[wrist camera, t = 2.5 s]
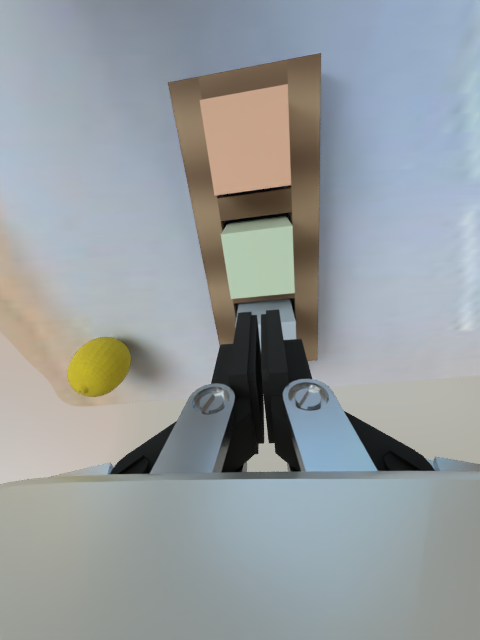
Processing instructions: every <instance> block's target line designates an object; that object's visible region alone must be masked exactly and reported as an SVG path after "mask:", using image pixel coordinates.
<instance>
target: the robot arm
mask: <svg viewBox="0 0 480 640" xmlns="http://www.w3.org/2000/svg"><path fill="white" fill-rule="evenodd" d="M263 394H264V403H265V411H266V421H267V430H268V439H269V443H275V452H276V454H278V455H279V456H280V457H281V458H282V459H283V460H285V461H286V462H287V465H288V472H247V461H248V460H249V459H250V458H251V457H252V456H253V455H254V454H258V444H259V443H264V406H263ZM0 640H480V464H475V463H469V462H463V461H458V460H452V459H445V458H440V457H435V459H434V461H431V460H426V459H425V458H424V457H423V456H422V455H421V454H419V453H418V452H416V451H415V450H413V449H411V448H410V447H408V446H406V445H404V444H403V443H401V442H398V441H397V440H395V439H394V438H392V437H390V436H388V435H386V434H385V433H383V432H381V431H379V430H377V429H376V428H374V427H372V426H370V425H368V424H367V423H365V422H363V421H361V420H359V419H358V418H356V417H354V416H352V415H350V414H349V413H347V412H345V411H344V410H343V409H342V407H341V405H340V404H339V402H338V400H337V398H336V396H335V395H334V393H333V391H332V390H331V389H330V388H329V386H327V385H326V384H324V383H323V382H320V381H317V380H313V379H312V377H311V373H310V369H309V365H308V361H307V358H306V354H305V350H304V346H303V342H302V339H291V340H284V339H283V333H282V326H281V319H280V312H279V309H277V310H266V314H261V349H260V339H259V330H258V320H257V315H252V312H241V313H238V316H237V323H236V329H235V335H234V341H233V344H221V345H220V348H219V353H218V357H217V361H216V365H215V369H214V374H213V378H212V382H211V384H208V385H205V386H202V387H200V388H198V389H197V390H196V391H195V392H193V393H192V395H191V396H190V397H189V399H188V401H187V403H186V405H185V407H184V409H183V410H182V412H181V415H180V416H179V418H178V420H177V421H176V422H175V423H173V424H172V425H170V426H169V427H167V428H166V429H164V430H163V431H161V432H160V433H159V434H157V435H155V436H154V437H153V438H151V439H150V440H148V441H147V442H145V443H144V444H142V445H141V446H140V447H138V448H136V449H135V450H134V451H132V452H130V453H129V454H127V455H126V456H125V457H124V458H123V459H121V460H120V461H119V462H118V463H117V464H116V465H115V466H112V464H111V463H106V464H102V465H98V466H93V467H89V468H86V469H81V470H77V471H73V472H68V473H64V474H60V475H56V476H51V477H47V478H35V479H27V480H21V481H15V482H8V483H4V484H0Z"/></svg>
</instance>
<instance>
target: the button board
mask: <svg viewBox="0 0 480 640" xmlns="http://www.w3.org/2000/svg"><path fill="white" fill-rule="evenodd" d="M285 84H288V106H289V136H290V166H291V185H288V186H287V187H283V188H276V189H268V190H261V191H254V192H247V193H240V194H232V195H225V196H222V195H216V196H215V195H214V189H213V183H212V176H211V170H210V164H209V157H208V151H207V145H206V138H205V132H204V126H203V119H202V113H201V107H200V100H203V99H208V98H214V97H219V96H225V95H230V94H236V93H241V92H247V91H252V90H258V89H263V88H269V87H274V86H280V85H285ZM320 85H321V53H319V54H314V55H309V56H303V57H298V58H293V59H288V60H283V61H277V62H272V63H267V64H262V65H257V66H251V67H246V68H241V69H236V70H231V71H225V72H220V73H215V74H210V75H205V76H199V77H194V78H189V79H184V80H179V81H174V82H168V86H169V91H170V96H171V101H172V106H173V111H174V116H175V121H176V127H177V132H178V137H179V142H180V147H181V152H182V157H183V162H184V167H185V172H186V177H187V182H188V187H189V192H190V197H191V203H192V208H193V213H194V218H195V223H196V228H197V233H198V238H199V243H200V248H201V253H202V258H203V263H204V268H205V273H206V279H207V284H208V289H209V294H210V299H211V304H212V309H213V314H214V319H215V324H216V329H217V334H218V339H219V344H220V345H221V344H233V341H234V335H235V329H236V328H235V324H236V317H237V311H238V304H237V303H245V302H256V301H267V300H278V299H288V298H292V309H293V313H294V317H295V321H296V339H302V342H303V346H304V350H305V354H306V358H307V361H313V360H317V344H318V257H319V171H320ZM281 213H289V221H290V223H291V224H292V226H293V256H294V286H295V293H290V294H279V295H269V296H258V297H248V298H237V299H231V297H230V290H229V284H228V278H227V271H226V265H225V259H224V252H223V246H222V240H221V233H222V232H223V230H224V228H225V227H226V222H225V221H226V220H234V219H242V218H249V217H257V216H265V215H273V214H281Z"/></svg>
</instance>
